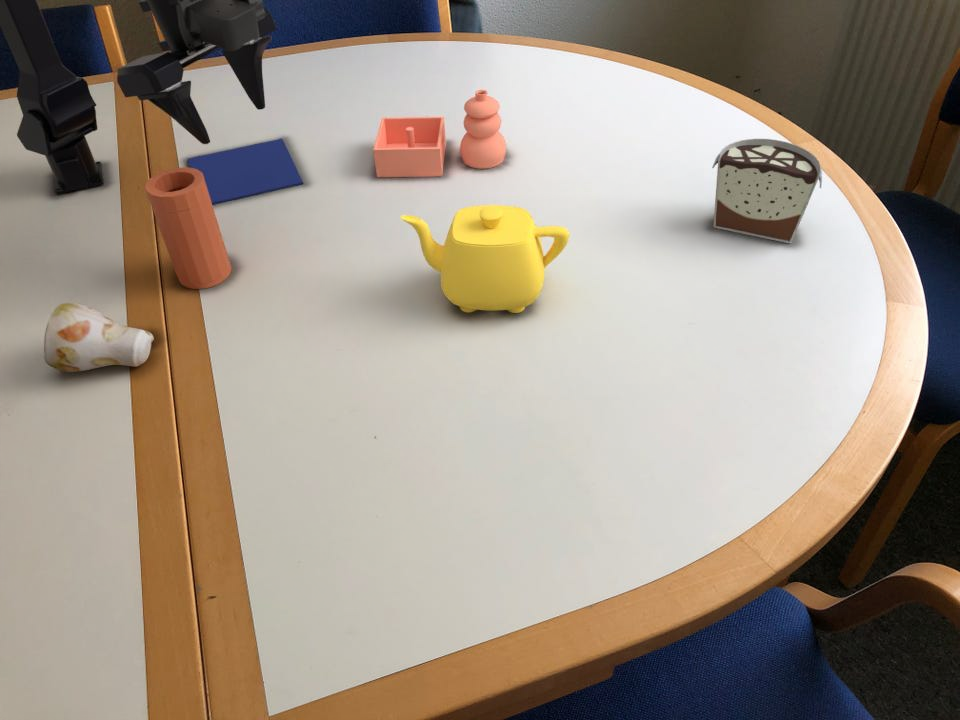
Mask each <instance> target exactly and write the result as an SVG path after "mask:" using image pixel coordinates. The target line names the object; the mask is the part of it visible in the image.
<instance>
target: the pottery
mask: <svg viewBox="0 0 960 720" xmlns="http://www.w3.org/2000/svg"><path fill="white" fill-rule="evenodd" d="M474 93H475V96H472V97H470V98H469V99H467V100H466V101H465V103H464V107H463V110H464V112H465V113H466V115H465V116H464V118H463V127H464V129H465V131H466V132H465V134H464V135H463V137H462V139H461V141H460V145H459V152H460V153H461V154H460V155H461V158H462V161H463V163H464V164H465V165H466V166H468V167H470V168H473V169H479V170H481V169H492V168H496V167H497V166H500V165H501V164H502V163H503V162H504V161H505V157H506V153H507V142H506V139H505V137H504V136H503V134H502V133H501V132H500V129H501V126H502V117H501V115H500V114H499V113H498V112H499V111H500V109H501V107H500V103H499V101H498V100H497V99H496V98H494V97H492V96H489V95H488V91H487V89H477V90H476V91H475V92H474ZM445 124H446V122H445V116H412V117H411V116H403V117H402V116H401V117H381V118H380V123H379V125H378V130H377V134H376V138H375V142H374V146H373V156H374V157H373V158H374V165H375V171H376V172H375V173H376V178H419V177H421V178H423V177H427V178H428V177H443V172H444V171H443V170H444V164H445V163H444V162H445V156H446V155H445V154H446V147H447V139H446V138H447V137H446V125H445Z"/></svg>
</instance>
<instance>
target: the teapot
mask: <svg viewBox="0 0 960 720" xmlns="http://www.w3.org/2000/svg"><path fill="white" fill-rule="evenodd" d="M400 219H401V220H402V221H404V222H406V223H407V224H408V225H410V226H412V227H413V229H414V230H415V232H416V234H417V237H418V239H419V243H420V247H421V251H422V254H423V257H424V259H425V261H426V262H427V264H428V265H429V266H430V267H431V268H432V269H433V270H435V271H437V272H439V273H440V286H441V287H440V288H441V290H442V292H443V294H444V295H445V297H446V298H447V299H448V300H449V302H450V303H452V304H453V305H455V306H457V307H459V309H460V310H461V311H462V312H464V313H473V312H476V311H478V310H480V311H508V312H509V313H510V314H511V313H512V314H520V313H522V312H523V311H524V310H525V309H526V307H527V306H530V305H532V304H533V303H534V302H535V301H536V300H537V299H538V297H539V295H540V294H541V292H542V289H543V285H544V281H545V273H546V267H547V266H548V265H550V264H551V263H552V262H553V261H554V260H555V259H557V257H558V256H559V255H560V254H561V253H562V252H563V251H564V249H565V248H566V247H567V245H568V242H569V240H570V236H571V235H570V233H569V232H570V231H569V230H568V229H567V228H566V227H563V226H560V225H545V226H544V225H543V226H537V225H536V223H535V220H534V218H533V217H532V215H531V213H530V211H529V210H527V209H525V208H522V207H518V206H513V205H502V204H501V205H500V204H485V205H483V204H482V205H472V206H466V207H463V208H461V209H458V210H457V211H456V212H455V214H454V216H453V218H452V220H451V224H450V227H449V229H448V232H447V234H446V237H445V240H444V244H440V243H438V242H437V241H436V240H434V238H433V236H432V233H431V230H430V227H429V225H428V224H427V223H426V221H425V220H423V219H422V218H420V217H417V216H414V215H409V214H403V215H401V216H400ZM547 237H549V238H553V242H552V244H551V246H550V247H549V250H548V251H547V252H546V253H545V254H544V248H543V243H542V240H541V238H547Z"/></svg>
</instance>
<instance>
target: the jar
mask: <svg viewBox="0 0 960 720" xmlns="http://www.w3.org/2000/svg"><path fill="white" fill-rule="evenodd" d="M144 189H145V193H146V195H147V198H148V201H149V203H150V206H151V208H152V212H153V214H154V217H155V219H156V222H157V225H158V228H159V231H160V233H161V237H162V238H163V241H164V244H165V247H166V249H167V252H168V256H169V257H170V261H171V264H172V266H173V269H174V272H175V275H176V277H177V279H178V281H179V283H180V284H181V285H182V286H183V287H185V288H188V289H192V290H203V289H208V288H212V287H215V286H217V285H220V284H222V283H223V282H224V281H226V280H227V279H228V277H229V276H230V275H231V272H232V264H231V262H230V258H229V256H228V252H227V248H226V245H225V242H224V239H223V235H222V232H221V229H220V226H219V223H218V218H217V216H216V213H215V209H214V206H213V204H212V202H211V199H210V196H209V192H208V189H207V186H206V183H205V179H204V176H203V173H202V172H200V171H199V170H197V169H194V168H190V166H188V167H185V166H184V167H173V168H168V169H165V170H162V171H160V172H157V173H155V174H154V175H152V176H151V177H150V178H149V179H148V180H147V181H146V183H145V184H144Z"/></svg>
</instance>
